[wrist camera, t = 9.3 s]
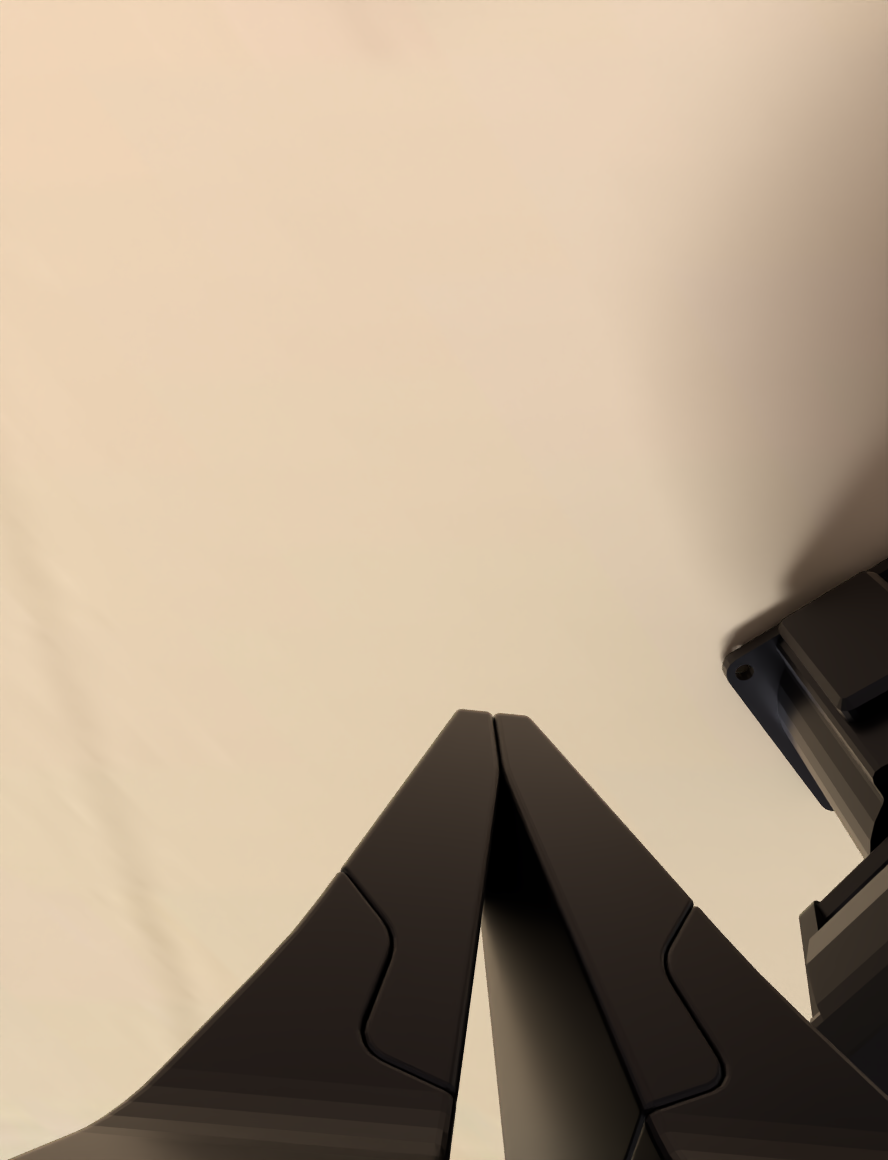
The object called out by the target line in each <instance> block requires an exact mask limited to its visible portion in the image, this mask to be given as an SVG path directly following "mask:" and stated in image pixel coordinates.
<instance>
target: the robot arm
mask: <svg viewBox="0 0 888 1160" xmlns="http://www.w3.org/2000/svg"><path fill="white" fill-rule="evenodd" d="M742 665H749V667H748V669H747V670H746V671H745V672H742V673H735V672H736V669H737V668H738V667H740V666H742ZM722 670H723V672H724V675H725V676H726V678H727V680H728V682H729V683H730V684H731V686H732V687H733V688H734V690H735V691H736V692H737V694H738V695H739V696H740V698H741V699H742V700H743V702H744V703H745V704H746V706H747V707H748V708H749V710H750V711H751V712H752V714H753V715H754V716H755V718H756V719H757V720H758V722H759V723H760V724H761V726H762V727H763V728H764V730H765V731H766V732H767V734H768V735H769V736H770V738H771V739H772V740H773V742H774V743H775V744H776V745H777V747H778V748H779V749H780V751H781V752H782V753H783V755H784V756H785V757H786V759H787V760H788V761H789V763H790V764H791V765H792V767H793V768H794V769H795V771H796V772H797V773H798V775H799V776H800V777H801V779H802V780H803V781H804V783H805V784H806V785H807V787H808V788H809V789H810V791H811V792H812V793H813V795H814V796H815V797H816V799H817V800H818V801H819V803H820V804H821V805H822V806H823V807H824V808H825V809H827V810H830V811H835V813H836V814H837V816H838V818H839V819H840V821H841V822H842V824H843V826H844V827H845V829H846V830H847V832H848V834H849V835H850V837H851V838H852V840H853V842H854V843H855V845H856V846H857V848H858V850H859V851H860V853H861V854H862V856H863V858H864V860H863V861H862V862H861V863H860V864H859V865H858V866H857V867H856V868H855V869H854V870H853V871H852V872H851V873H850V874H849V875H848V876H847V877H846V878H845V879H844V880H843V881H841V882H840V883H839V884H838V885H837V886H836V887H835V888H834V889H833V890H832V891H831V892H830V893H829V894H828V895H827V896H826V897H825V898H824V899H823V900H822V901H821V902H819V901H814V902H813V903H812V904H811V905H810V906H808V907H807V908H806V909H805V910H804V911H803V912H802V913H801V914H800V915H799V921H800V929H801V936H802V943H803V951H804V958H805V966H806V973H807V980H808V988H809V995H810V1003H811V1010H812V1017H813V1018H811V1020H810V1022H809V1021H807V1020H806V1019H805V1018H804V1017H803V1016H802V1015H801V1014H800V1013H799V1012H798V1011H797V1010H796V1009H795V1008H794V1007H793V1006H792V1005H791V1004H790V1003H789V1002H788V1001H787V1000H786V999H785V998H784V997H783V996H782V995H781V994H780V993H779V992H778V991H777V990H776V989H775V988H774V987H773V986H772V985H771V984H770V983H769V982H768V981H767V980H766V979H765V978H764V977H763V976H762V975H761V974H760V973H759V972H758V971H757V970H756V969H755V968H754V967H753V966H752V965H751V964H750V963H749V962H748V961H747V960H746V958H745V957H744V956H743V955H742V954H741V953H740V952H739V951H738V950H737V949H736V948H735V947H734V946H733V945H732V944H731V942H730V941H729V940H728V939H727V938H726V937H725V936H724V935H723V934H722V933H721V932H720V931H719V929H718V928H717V927H716V926H715V925H714V924H713V923H712V922H711V920H710V919H709V918H708V917H707V916H706V915H705V914H704V913H703V911H702V910H701V909H700V908H699V907H696V906H695V907H693V906H694V904H693V901H692V900H691V898H690V897H689V896H688V895H687V894H686V893H685V892H684V891H683V889H682V888H681V887H680V886H679V885H678V884H677V883H676V882H675V880H674V879H673V878H672V877H671V876H670V875H669V874H668V873H667V871H666V870H665V869H664V868H663V867H662V866H661V865H660V864H659V862H658V861H657V860H656V859H655V858H654V857H653V856H652V855H651V853H650V852H649V851H648V850H647V849H646V848H645V847H644V846H643V844H642V843H641V842H640V841H639V840H638V839H637V838H636V837H635V835H634V834H633V833H632V832H631V831H630V830H629V829H628V828H627V826H626V825H625V824H624V823H623V822H622V821H621V820H620V819H619V817H618V816H617V815H616V814H615V813H614V812H613V811H612V810H611V808H610V807H609V806H608V805H607V804H606V803H605V802H604V801H603V799H602V798H601V797H600V796H599V795H598V794H597V793H596V792H595V790H594V789H593V788H592V787H591V786H590V785H589V784H588V783H587V781H586V780H585V779H584V778H583V777H582V776H581V775H580V774H579V772H578V771H577V770H576V769H575V768H574V767H573V766H572V765H571V763H570V762H569V761H568V760H567V759H566V758H565V757H564V756H563V754H562V753H561V752H560V751H559V750H558V749H557V748H556V747H555V745H554V744H553V743H552V742H551V741H550V740H549V739H548V738H547V736H546V735H545V734H544V733H543V732H542V731H541V730H540V729H539V727H538V726H537V725H536V724H535V723H534V722H533V721H532V720H531V719H530V718H529V717H527V716H524V715H514V714H504V713H497V714H495V715H494V717H492V715H491V714H490V713H489V712H485V711H475V710H465V709H460V710H458V711H456V712H455V714H454V715H453V716H452V718H451V719H450V720H449V722H448V723H447V724H446V726H445V727H444V729H443V730H442V731H441V733H440V734H439V735H438V737H437V738H436V740H435V741H434V742H433V744H432V745H431V746H430V748H429V749H428V750H427V752H426V753H425V755H424V756H423V757H422V759H421V760H420V761H419V763H418V764H417V765H416V767H415V768H414V770H413V771H412V772H411V774H410V775H409V776H408V778H407V779H406V781H405V782H404V783H403V785H402V786H401V787H400V789H399V790H398V791H397V793H396V794H395V796H394V797H393V798H392V800H391V801H390V802H389V804H388V805H387V807H386V808H385V809H384V811H383V812H382V813H381V815H380V816H379V817H378V819H377V820H376V822H375V823H374V824H373V826H372V827H371V828H370V830H369V831H368V832H367V834H366V835H365V837H364V838H363V839H362V841H361V842H360V843H359V845H358V846H357V848H356V849H355V850H354V852H353V853H352V854H351V856H350V857H349V858H348V860H347V861H346V863H345V864H344V865H343V867H342V868H341V872H339V873H337V874H336V876H335V877H334V878H333V880H332V881H331V882H330V884H329V885H328V887H327V888H326V889H325V891H324V892H323V893H322V895H321V896H320V897H319V899H318V900H317V901H316V902H315V904H314V905H313V906H312V908H311V909H310V910H309V911H308V913H307V914H306V915H305V916H304V918H303V919H302V920H301V921H300V923H299V924H298V925H297V926H296V928H295V929H294V930H293V931H292V933H291V934H290V935H289V936H288V937H287V938H286V939H285V940H284V941H283V942H282V943H281V944H280V946H279V947H278V948H277V949H276V950H275V951H274V952H273V953H272V954H271V955H270V956H269V957H268V959H267V960H266V961H265V962H264V963H263V964H262V965H261V966H260V967H259V968H258V969H257V970H256V972H255V973H254V974H253V975H252V976H251V977H250V978H249V979H248V980H247V981H246V982H245V983H244V984H243V985H242V986H241V987H240V988H239V989H238V990H237V991H236V992H235V993H234V994H233V995H232V996H231V997H230V998H229V999H228V1000H227V1001H226V1002H225V1003H224V1004H223V1005H222V1006H221V1007H220V1008H219V1009H218V1010H217V1011H216V1012H215V1013H214V1014H213V1015H212V1016H211V1017H210V1019H209V1020H208V1021H207V1022H206V1023H205V1024H204V1025H203V1026H202V1027H201V1028H200V1029H199V1030H198V1031H197V1032H196V1033H195V1034H194V1035H193V1036H192V1037H191V1038H190V1039H189V1040H188V1041H187V1042H186V1043H185V1044H184V1045H183V1046H182V1047H181V1048H180V1049H179V1050H178V1051H177V1052H176V1053H175V1054H174V1055H173V1056H172V1057H171V1058H170V1059H169V1060H168V1061H167V1062H166V1063H165V1065H164V1066H163V1067H162V1068H161V1069H160V1070H159V1071H158V1072H157V1073H155V1074H154V1075H153V1076H152V1077H151V1078H150V1079H149V1080H148V1081H147V1082H146V1083H145V1084H144V1085H143V1086H142V1087H141V1088H140V1089H139V1090H137V1091H136V1092H135V1093H134V1094H133V1095H132V1096H130V1097H129V1098H128V1099H127V1100H126V1101H124V1102H123V1103H122V1104H120V1105H119V1106H118V1107H116V1108H115V1109H113V1110H112V1111H111V1112H109V1113H108V1114H106V1115H105V1116H104V1117H102V1118H100V1119H99V1120H97V1121H95V1122H94V1123H92V1124H90V1125H89V1126H87V1127H85V1128H83V1129H81V1130H79V1131H76V1132H74V1133H72V1134H69V1135H67V1136H65V1137H62V1138H60V1139H57V1140H55V1141H52V1142H50V1143H47V1144H45V1145H43V1146H40V1147H38V1148H35V1149H33V1150H30V1151H28V1152H25V1153H23V1154H21V1155H18V1156H16V1157H13V1158H11V1159H8V1160H449V1159H450V1151H451V1143H452V1135H453V1127H454V1120H455V1112H456V1102H457V1097H458V1090H459V1082H460V1075H461V1068H462V1060H463V1053H464V1045H465V1038H466V1031H467V1023H468V1016H469V1008H470V1001H471V994H472V986H473V979H474V972H475V964H476V957H477V949H478V942H479V935H480V927H481V929H482V939H483V949H484V958H485V968H486V978H487V987H488V997H489V1007H490V1017H491V1026H492V1036H493V1046H494V1055H495V1065H496V1075H497V1085H498V1094H499V1104H500V1114H501V1124H502V1133H503V1143H504V1153H505V1160H888V559H886V560H884V561H883V562H881V563H879V564H878V565H876V566H874V567H873V568H871V569H869V570H868V571H866V572H861V573H859V574H857V575H856V576H854V577H852V578H851V579H849V580H847V581H846V582H844V583H842V584H841V585H839V586H837V587H836V588H834V589H832V590H831V591H829V592H827V593H826V594H824V595H822V596H821V597H819V598H818V599H816V600H814V601H813V602H811V603H809V604H808V605H806V606H804V607H803V608H801V609H799V610H798V611H796V612H794V613H793V614H791V615H789V616H788V617H786V618H784V619H783V620H782V621H781V623H780V624H778V625H777V626H775V627H773V628H772V629H770V630H768V631H767V632H765V633H763V634H762V635H760V636H758V637H757V638H755V639H753V640H752V641H750V642H748V643H747V644H745V645H744V646H742V647H740V648H739V649H737V650H735V651H734V652H732V653H730V654H729V655H728V656H727V657H726V658H725V660H724V662H723V665H722Z"/></svg>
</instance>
